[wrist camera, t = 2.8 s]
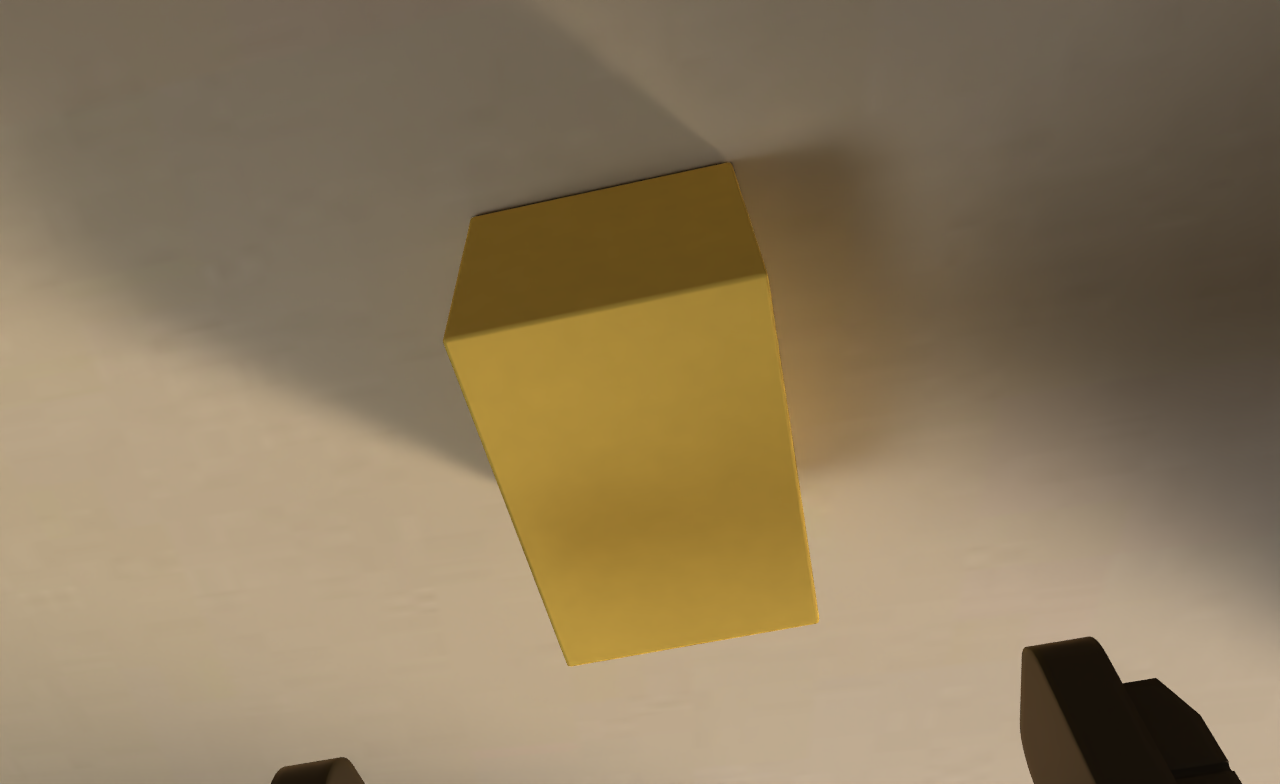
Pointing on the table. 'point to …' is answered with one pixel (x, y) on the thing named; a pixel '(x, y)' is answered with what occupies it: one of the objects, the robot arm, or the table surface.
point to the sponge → (637, 413)
